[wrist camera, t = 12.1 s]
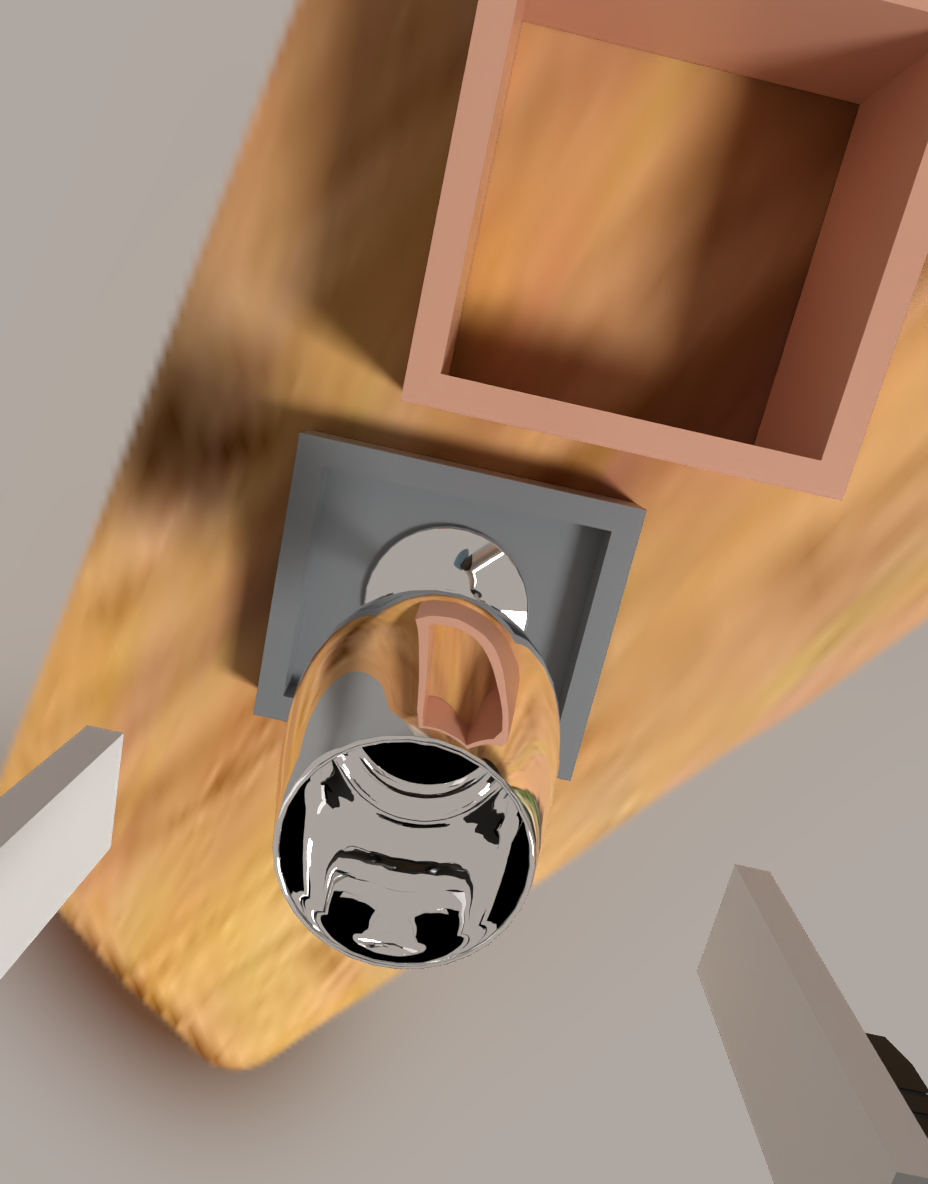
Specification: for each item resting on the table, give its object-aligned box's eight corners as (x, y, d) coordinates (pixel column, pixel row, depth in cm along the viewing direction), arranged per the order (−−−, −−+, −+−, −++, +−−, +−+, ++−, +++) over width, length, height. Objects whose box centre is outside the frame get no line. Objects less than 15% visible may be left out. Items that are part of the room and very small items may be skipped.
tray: (634, 502, 35) (646, 510, 33) (564, 756, 38) (570, 780, 36) (311, 430, 34) (299, 432, 32) (267, 694, 38) (253, 714, 35)
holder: (898, 78, 31) (1018, -13, 24) (770, 480, 35) (842, 500, 28) (499, -22, 30) (506, -144, 23) (415, 399, 34) (400, 400, 27)
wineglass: (523, 691, 36) (572, 1028, 17) (359, 680, 36) (218, 1002, 17) (538, 528, 34) (612, 696, 15) (365, 516, 34) (213, 667, 15)
